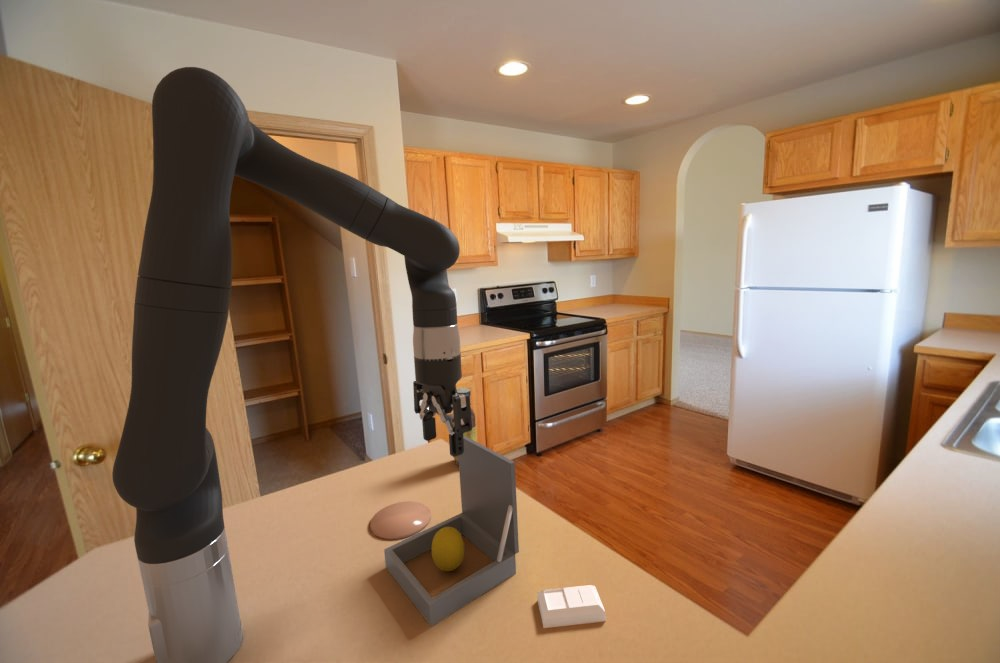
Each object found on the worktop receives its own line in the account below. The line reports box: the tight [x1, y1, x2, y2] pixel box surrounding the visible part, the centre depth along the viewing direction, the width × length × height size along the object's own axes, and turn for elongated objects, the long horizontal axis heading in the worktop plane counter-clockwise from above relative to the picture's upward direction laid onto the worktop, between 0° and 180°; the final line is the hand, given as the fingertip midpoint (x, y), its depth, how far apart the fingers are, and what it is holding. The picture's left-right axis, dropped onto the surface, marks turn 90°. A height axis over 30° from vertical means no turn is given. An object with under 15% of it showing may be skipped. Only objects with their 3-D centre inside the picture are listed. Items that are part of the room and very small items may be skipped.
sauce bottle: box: [451, 387, 478, 467], centre depth 109 cm, size 6×6×20 cm
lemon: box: [430, 527, 466, 572], centre depth 71 cm, size 6×6×8 cm
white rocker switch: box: [536, 584, 607, 629], centre depth 62 cm, size 5×9×3 cm, turn 95°
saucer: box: [370, 501, 432, 540], centre depth 86 cm, size 12×12×1 cm
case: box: [383, 435, 520, 628], centre depth 70 cm, size 17×16×20 cm
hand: (443, 446), depth 71 cm, fingers open, 8 cm apart
